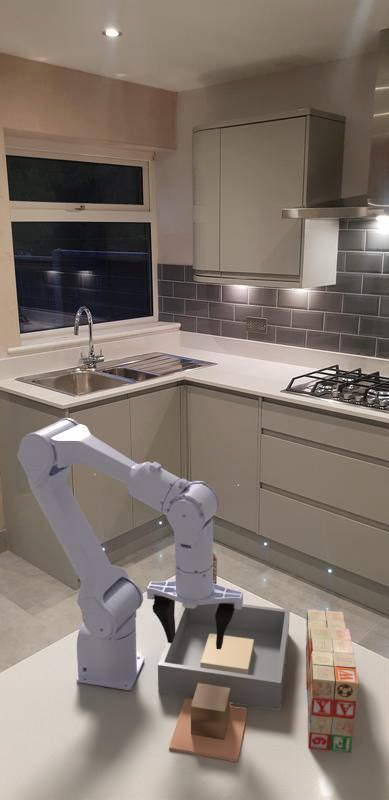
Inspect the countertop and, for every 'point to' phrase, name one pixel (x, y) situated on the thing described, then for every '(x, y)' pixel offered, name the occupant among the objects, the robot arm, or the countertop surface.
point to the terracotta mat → (206, 745)
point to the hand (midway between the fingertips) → (195, 642)
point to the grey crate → (228, 654)
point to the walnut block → (210, 711)
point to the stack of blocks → (330, 682)
